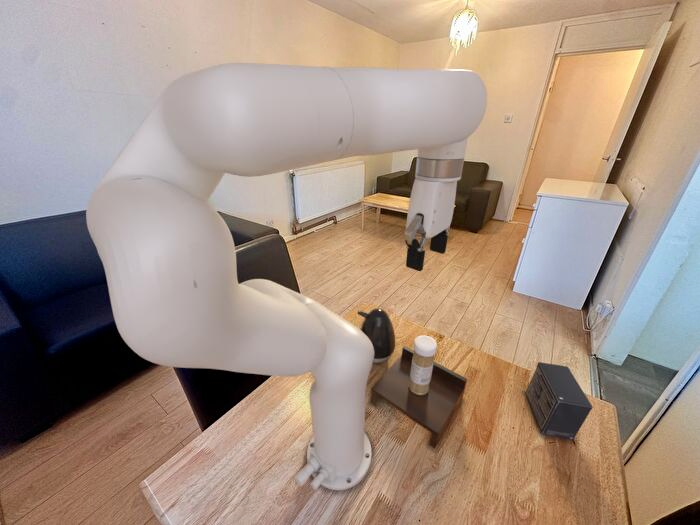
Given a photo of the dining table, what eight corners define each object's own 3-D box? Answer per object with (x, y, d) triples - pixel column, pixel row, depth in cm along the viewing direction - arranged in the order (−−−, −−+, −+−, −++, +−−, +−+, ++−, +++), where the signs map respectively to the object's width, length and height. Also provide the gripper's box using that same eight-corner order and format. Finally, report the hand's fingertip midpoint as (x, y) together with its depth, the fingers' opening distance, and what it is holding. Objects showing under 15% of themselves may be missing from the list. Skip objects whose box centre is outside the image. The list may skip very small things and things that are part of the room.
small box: (576, 442, 58) (596, 408, 53) (541, 435, 59) (557, 402, 54) (553, 397, 67) (569, 365, 62) (523, 392, 68) (536, 360, 64)
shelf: (435, 449, 57) (440, 425, 53) (370, 402, 66) (371, 380, 63) (461, 401, 66) (467, 378, 63) (402, 367, 75) (404, 345, 72)
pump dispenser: (360, 339, 85) (361, 297, 78) (395, 344, 83) (399, 301, 76) (353, 365, 76) (354, 320, 69) (392, 371, 74) (397, 325, 67)
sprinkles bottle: (425, 379, 66) (433, 333, 60) (431, 396, 62) (440, 349, 56) (406, 379, 66) (412, 334, 60) (410, 396, 62) (417, 350, 56)
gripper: (439, 161, 56) (428, 241, 64) (391, 173, 44) (385, 269, 52) (478, 165, 52) (461, 250, 59) (437, 179, 40) (423, 283, 48)
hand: (426, 259), depth 56 cm, fingers open, 9 cm apart
